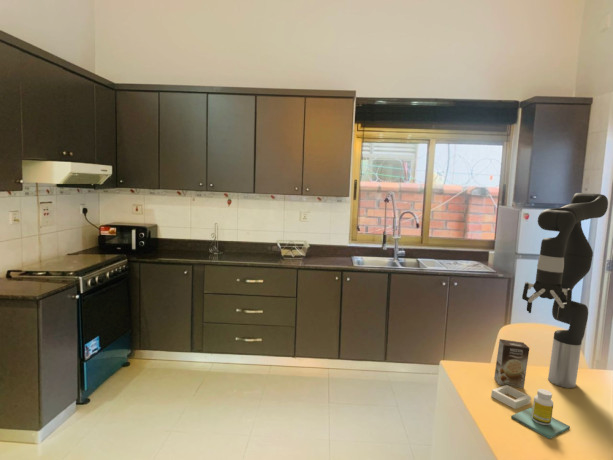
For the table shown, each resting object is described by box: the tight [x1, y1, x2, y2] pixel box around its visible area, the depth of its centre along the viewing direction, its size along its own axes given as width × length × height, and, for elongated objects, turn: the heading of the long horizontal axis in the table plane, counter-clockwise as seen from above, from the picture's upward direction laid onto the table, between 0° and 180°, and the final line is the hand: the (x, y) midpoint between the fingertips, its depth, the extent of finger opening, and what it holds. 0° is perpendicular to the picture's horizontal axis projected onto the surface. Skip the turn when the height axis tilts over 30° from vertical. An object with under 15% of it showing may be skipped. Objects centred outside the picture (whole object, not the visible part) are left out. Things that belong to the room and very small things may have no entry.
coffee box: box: [494, 338, 530, 389], centre depth 152 cm, size 9×6×16 cm
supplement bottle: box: [531, 388, 554, 425], centre depth 125 cm, size 5×5×10 cm
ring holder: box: [490, 385, 532, 410], centre depth 139 cm, size 9×9×2 cm
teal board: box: [510, 406, 571, 440], centre depth 126 cm, size 12×12×1 cm
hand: (543, 315), depth 134 cm, fingers open, 8 cm apart
